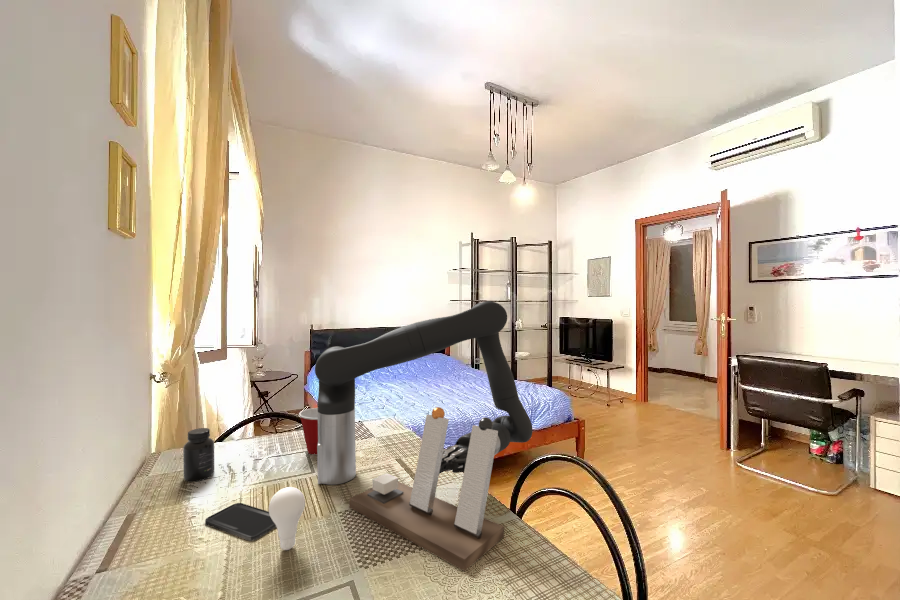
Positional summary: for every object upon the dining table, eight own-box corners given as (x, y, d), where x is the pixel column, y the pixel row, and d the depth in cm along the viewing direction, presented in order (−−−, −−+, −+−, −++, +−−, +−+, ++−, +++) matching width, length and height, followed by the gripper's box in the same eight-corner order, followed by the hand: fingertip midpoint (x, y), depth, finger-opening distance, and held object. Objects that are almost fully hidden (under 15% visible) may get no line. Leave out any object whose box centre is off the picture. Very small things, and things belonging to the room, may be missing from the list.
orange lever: (415, 505, 82) (434, 405, 87) (434, 514, 78) (453, 410, 83) (405, 506, 80) (425, 404, 85) (425, 516, 76) (445, 408, 81)
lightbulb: (292, 562, 67) (291, 498, 67) (261, 558, 68) (260, 495, 68) (312, 540, 73) (311, 482, 73) (283, 537, 74) (282, 479, 74)
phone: (237, 501, 86) (286, 517, 80) (237, 507, 86) (286, 522, 80) (202, 520, 79) (251, 538, 73) (202, 525, 79) (251, 544, 73)
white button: (386, 486, 89) (386, 472, 89) (398, 491, 86) (398, 477, 86) (372, 492, 86) (372, 479, 86) (384, 498, 83) (384, 484, 83)
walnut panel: (391, 486, 94) (391, 477, 94) (504, 536, 73) (503, 524, 73) (349, 507, 85) (349, 496, 85) (464, 571, 64) (464, 556, 64)
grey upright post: (459, 526, 74) (479, 415, 79) (483, 537, 70) (502, 420, 76) (450, 527, 72) (471, 414, 77) (474, 539, 68) (495, 419, 74)
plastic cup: (330, 458, 112) (329, 416, 112) (293, 458, 112) (292, 417, 112) (341, 444, 123) (341, 406, 123) (307, 444, 123) (307, 406, 123)
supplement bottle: (177, 480, 100) (176, 433, 100) (202, 469, 106) (202, 425, 106) (195, 484, 97) (194, 436, 97) (220, 473, 103) (220, 427, 103)
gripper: (456, 425, 99) (407, 445, 86) (501, 436, 91) (454, 460, 77) (457, 455, 99) (408, 480, 86) (501, 468, 90) (455, 498, 77)
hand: (430, 470), depth 81 cm, fingers closed
